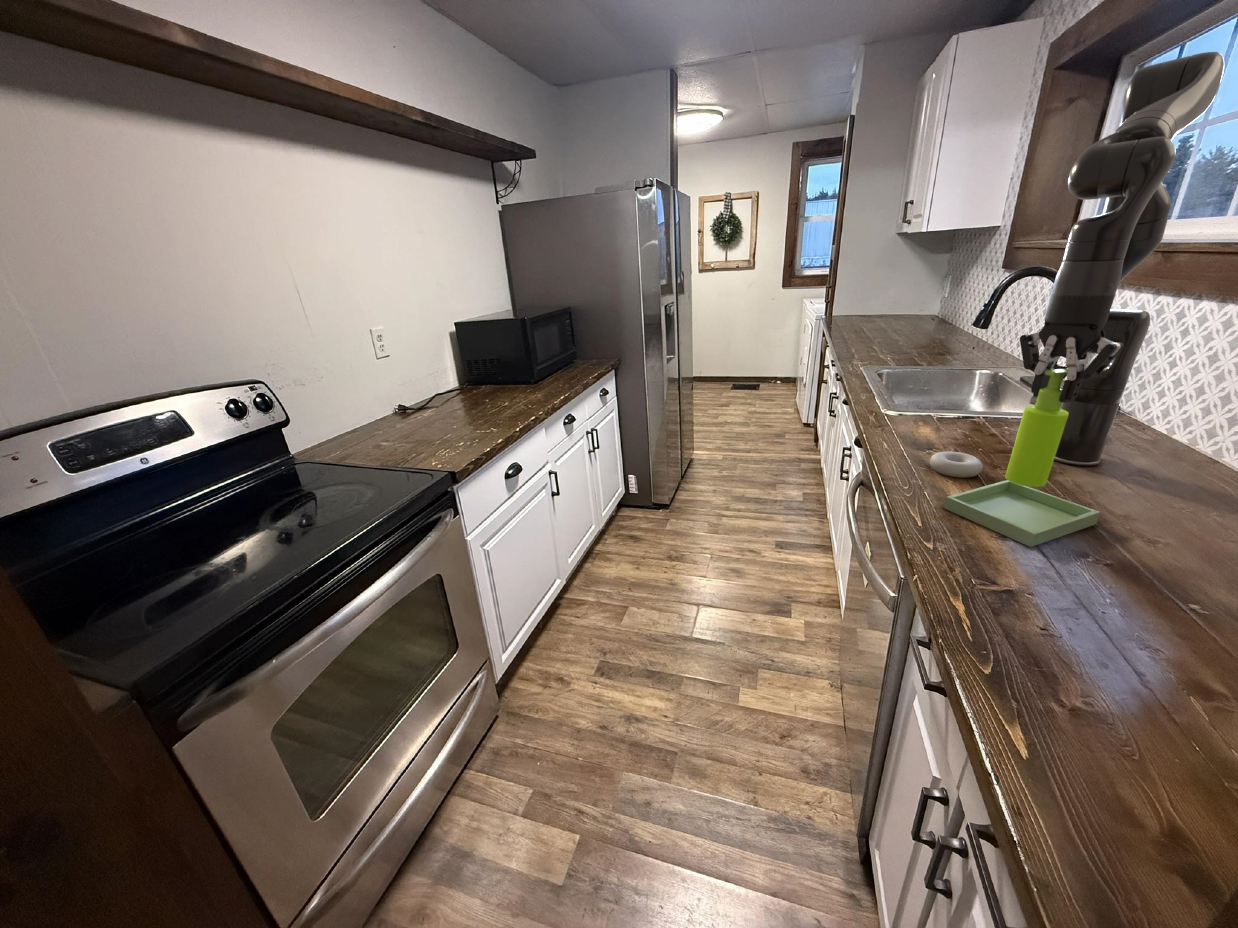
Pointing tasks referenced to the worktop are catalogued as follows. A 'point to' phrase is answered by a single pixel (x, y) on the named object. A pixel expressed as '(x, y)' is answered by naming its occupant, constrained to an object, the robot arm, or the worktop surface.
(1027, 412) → the soap dispenser
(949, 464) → the donut
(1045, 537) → the tray
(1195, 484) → the worktop surface
